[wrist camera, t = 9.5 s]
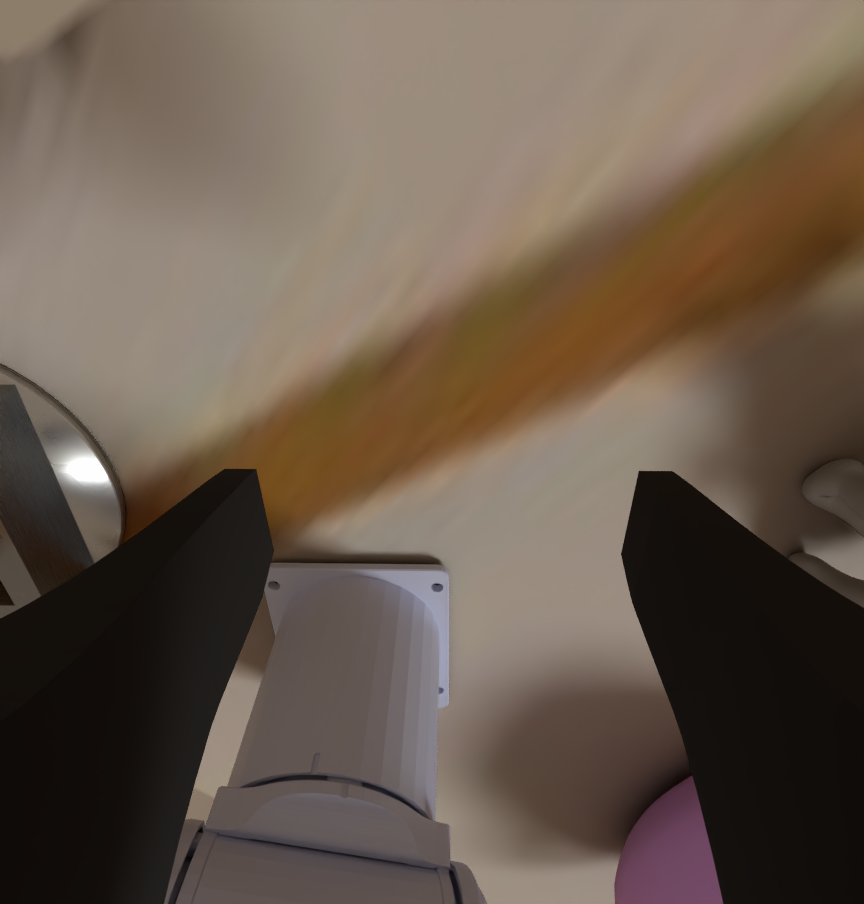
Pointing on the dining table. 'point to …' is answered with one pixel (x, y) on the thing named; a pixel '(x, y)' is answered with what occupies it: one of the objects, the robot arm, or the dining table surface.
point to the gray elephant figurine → (846, 495)
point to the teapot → (669, 854)
